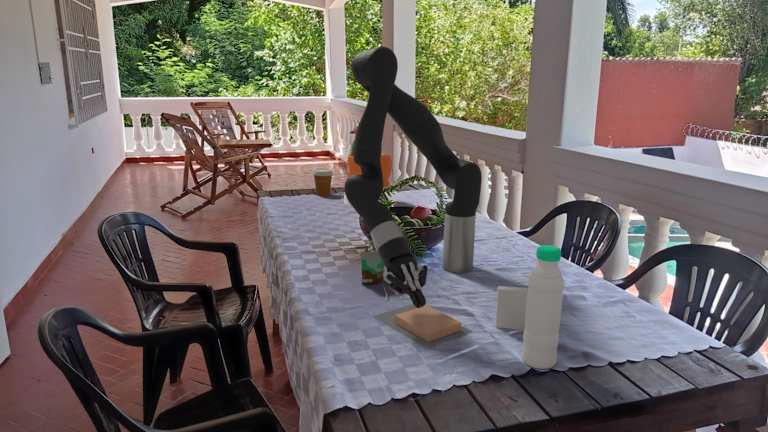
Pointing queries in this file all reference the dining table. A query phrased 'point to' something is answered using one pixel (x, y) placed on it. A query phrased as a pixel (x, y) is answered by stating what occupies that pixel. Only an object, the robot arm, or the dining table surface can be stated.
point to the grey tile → (511, 308)
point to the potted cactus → (355, 169)
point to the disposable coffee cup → (323, 181)
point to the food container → (371, 266)
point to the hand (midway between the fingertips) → (421, 306)
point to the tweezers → (393, 291)
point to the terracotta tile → (427, 323)
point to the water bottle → (543, 310)
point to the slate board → (389, 320)
